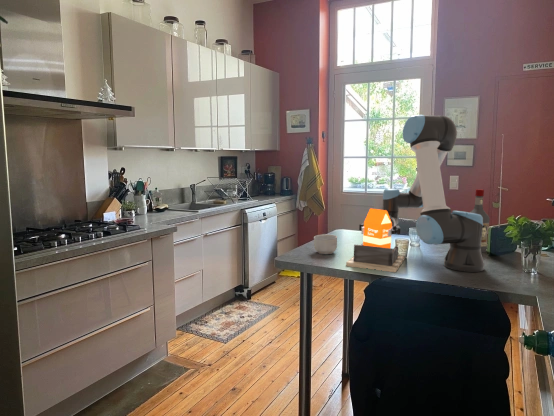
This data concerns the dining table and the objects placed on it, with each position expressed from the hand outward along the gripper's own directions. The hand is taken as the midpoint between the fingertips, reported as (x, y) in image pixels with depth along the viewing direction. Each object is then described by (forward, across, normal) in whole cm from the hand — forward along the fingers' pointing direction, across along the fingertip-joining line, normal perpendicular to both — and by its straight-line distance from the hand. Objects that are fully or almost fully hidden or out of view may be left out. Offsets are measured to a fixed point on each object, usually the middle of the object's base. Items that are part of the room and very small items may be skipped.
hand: (375, 232), depth 168 cm
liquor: (-52, -38, -14) cm, 67 cm away
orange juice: (-4, 0, -11) cm, 12 cm away
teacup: (-12, +26, -14) cm, 32 cm away
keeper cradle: (-4, 0, -14) cm, 15 cm away
